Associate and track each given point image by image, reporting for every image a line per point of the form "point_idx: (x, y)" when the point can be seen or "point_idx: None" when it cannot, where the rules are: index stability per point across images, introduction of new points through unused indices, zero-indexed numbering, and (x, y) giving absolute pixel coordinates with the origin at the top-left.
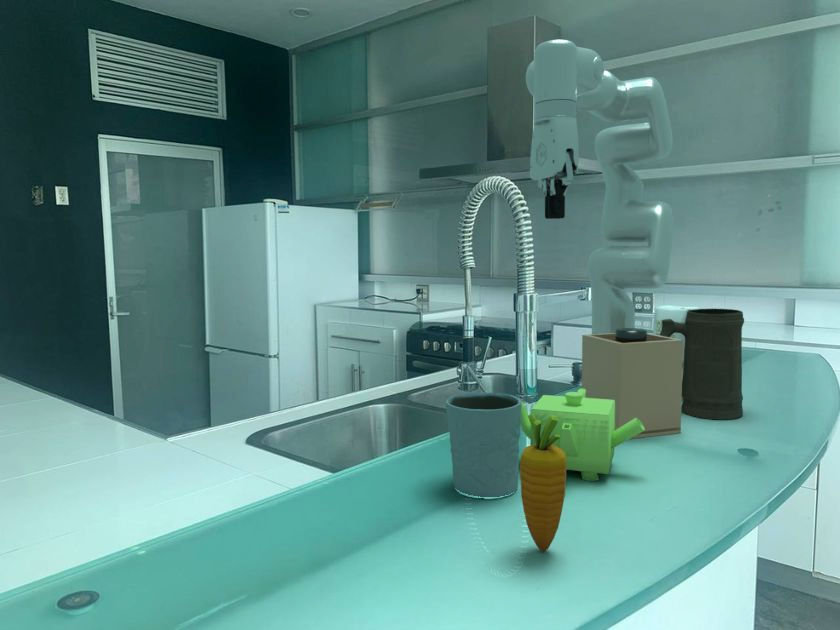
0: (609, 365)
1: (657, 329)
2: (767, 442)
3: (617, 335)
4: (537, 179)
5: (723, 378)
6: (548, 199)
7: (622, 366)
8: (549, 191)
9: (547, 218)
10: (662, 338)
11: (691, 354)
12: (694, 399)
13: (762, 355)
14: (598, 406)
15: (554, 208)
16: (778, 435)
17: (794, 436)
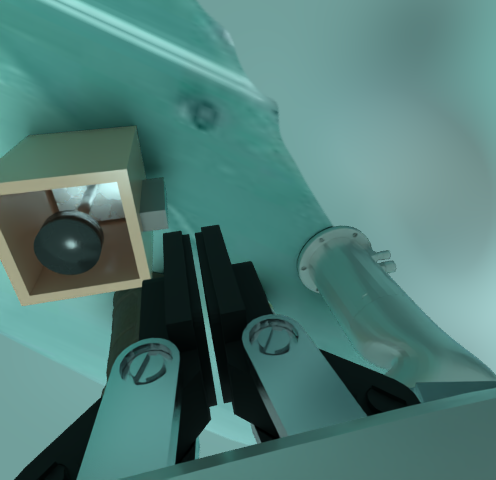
0: (26, 165)
1: None
2: (13, 295)
3: (62, 217)
4: (402, 409)
5: (113, 332)
6: (177, 301)
7: None
8: (251, 376)
9: (201, 231)
10: (64, 289)
11: (138, 327)
12: (134, 288)
13: None
14: None
15: (149, 290)
16: (42, 317)
17: (37, 329)
